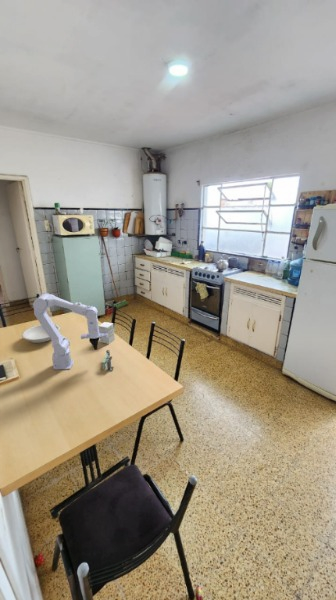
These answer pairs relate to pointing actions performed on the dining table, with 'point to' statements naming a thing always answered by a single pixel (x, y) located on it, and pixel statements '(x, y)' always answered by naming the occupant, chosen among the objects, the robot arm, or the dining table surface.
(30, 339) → the soup bowl
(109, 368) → the post
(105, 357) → the gate
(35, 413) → the dining table surface
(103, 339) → the supplement box
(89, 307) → the robot arm
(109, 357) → the hinge post
